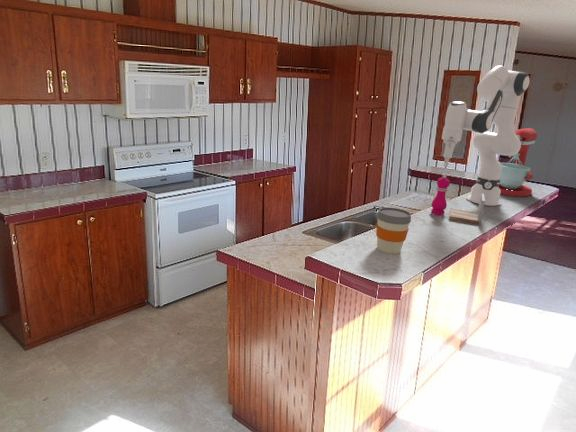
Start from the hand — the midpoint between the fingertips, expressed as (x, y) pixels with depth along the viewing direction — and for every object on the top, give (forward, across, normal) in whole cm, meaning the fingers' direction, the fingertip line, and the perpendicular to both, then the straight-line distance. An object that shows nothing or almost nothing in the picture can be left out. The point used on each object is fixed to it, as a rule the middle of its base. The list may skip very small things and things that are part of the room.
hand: (446, 164), depth 226 cm
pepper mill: (+25, 0, 0) cm, 25 cm away
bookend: (+25, 0, -13) cm, 28 cm away
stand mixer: (+24, +86, -40) cm, 98 cm away
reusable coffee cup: (+26, -65, +14) cm, 71 cm away
